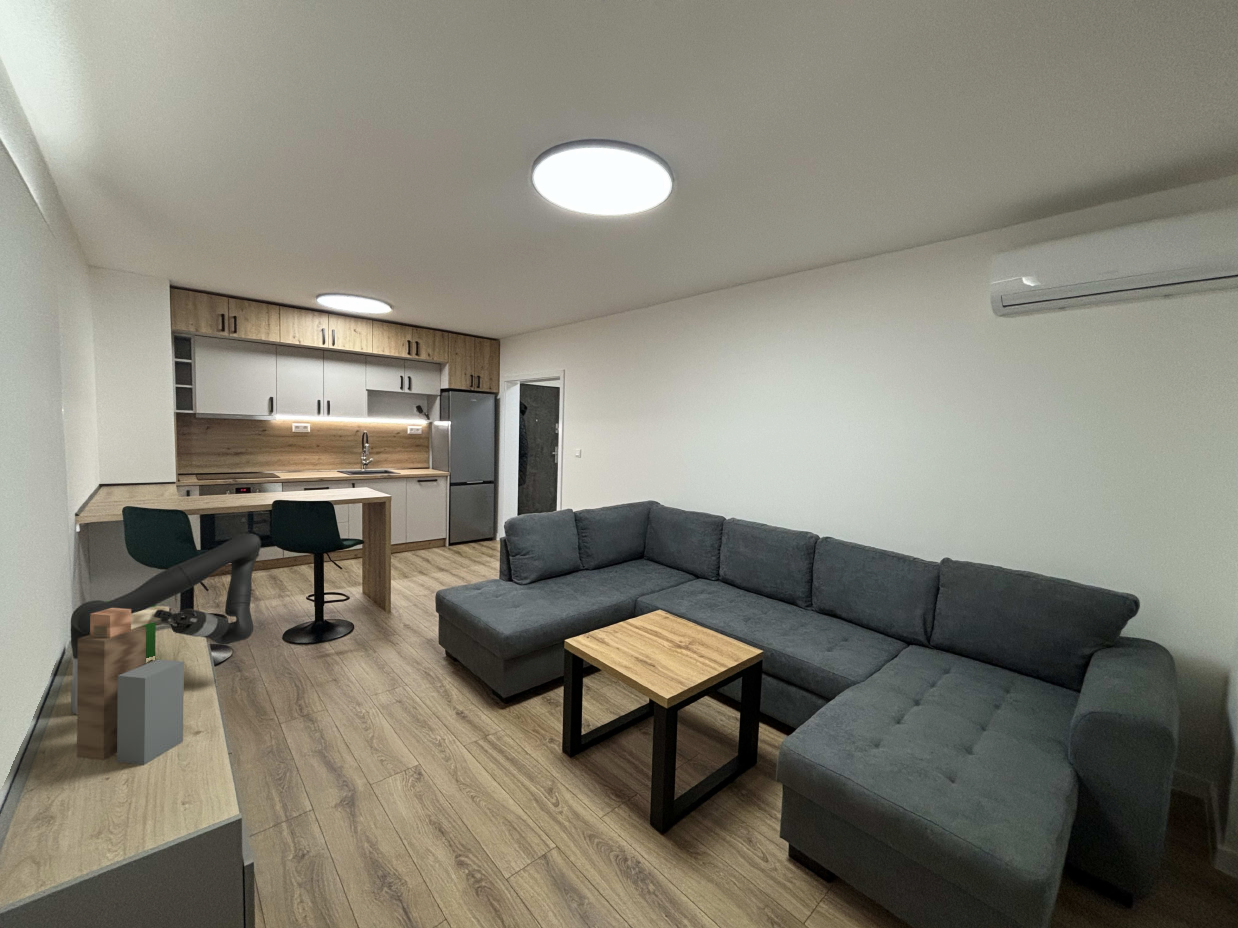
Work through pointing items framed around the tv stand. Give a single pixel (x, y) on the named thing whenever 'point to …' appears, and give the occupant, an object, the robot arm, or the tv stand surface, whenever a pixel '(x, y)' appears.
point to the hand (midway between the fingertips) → (146, 612)
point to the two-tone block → (120, 620)
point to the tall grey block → (150, 711)
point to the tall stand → (103, 688)
